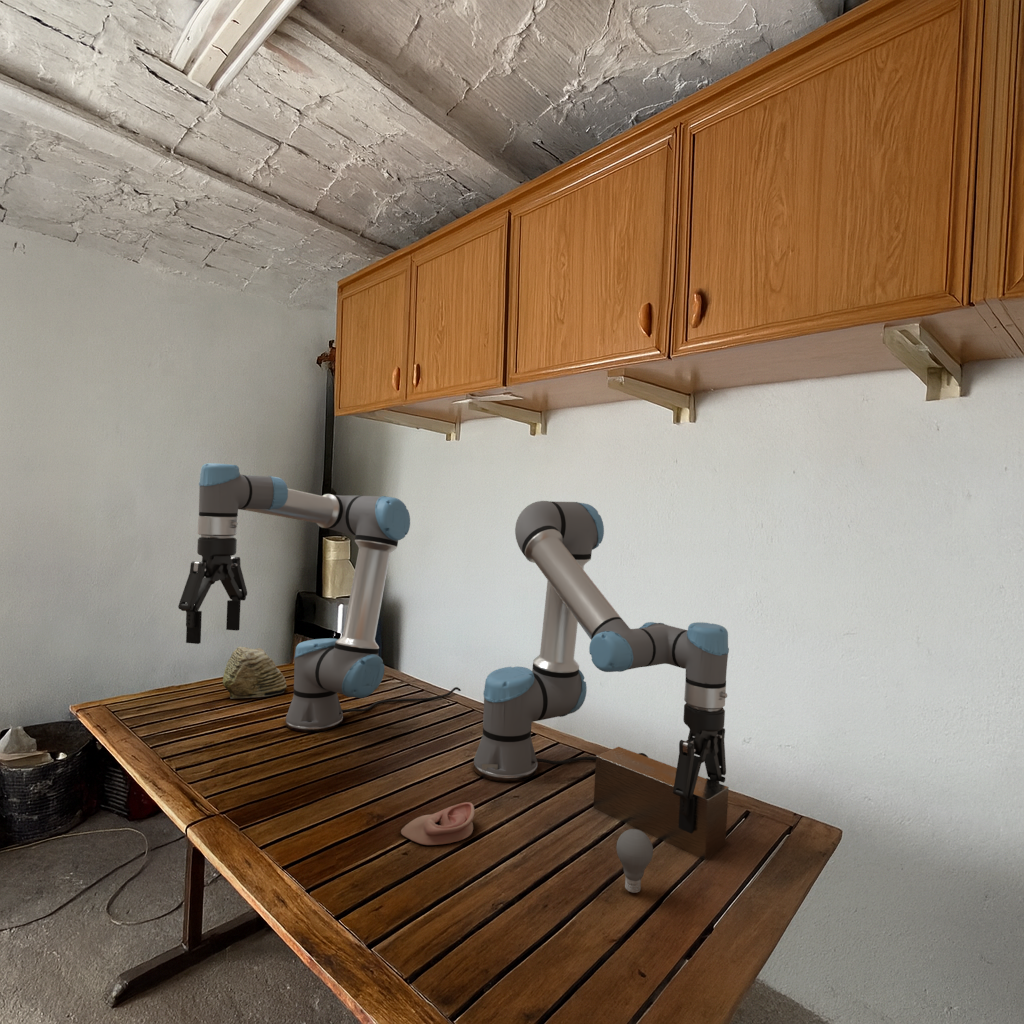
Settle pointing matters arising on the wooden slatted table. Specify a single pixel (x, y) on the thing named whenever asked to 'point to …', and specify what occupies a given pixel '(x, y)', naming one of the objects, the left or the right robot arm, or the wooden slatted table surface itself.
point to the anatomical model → (442, 825)
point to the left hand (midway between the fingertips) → (214, 636)
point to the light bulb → (634, 857)
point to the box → (659, 801)
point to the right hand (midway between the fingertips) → (698, 821)
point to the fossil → (252, 674)
